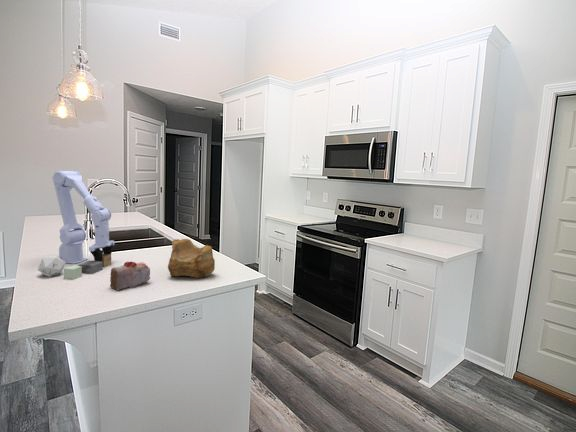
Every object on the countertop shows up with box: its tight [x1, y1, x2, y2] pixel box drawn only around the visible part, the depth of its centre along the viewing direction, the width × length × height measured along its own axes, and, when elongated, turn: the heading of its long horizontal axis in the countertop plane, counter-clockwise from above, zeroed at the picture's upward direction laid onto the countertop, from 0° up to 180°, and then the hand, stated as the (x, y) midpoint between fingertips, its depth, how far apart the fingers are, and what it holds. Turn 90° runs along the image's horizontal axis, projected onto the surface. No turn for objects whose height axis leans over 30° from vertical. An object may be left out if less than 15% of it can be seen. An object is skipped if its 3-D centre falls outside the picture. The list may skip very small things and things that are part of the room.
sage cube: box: [62, 265, 83, 281], centre depth 137 cm, size 4×4×4 cm
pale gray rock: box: [37, 254, 67, 278], centre depth 138 cm, size 8×9×10 cm
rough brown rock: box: [167, 238, 216, 279], centre depth 145 cm, size 23×17×15 cm
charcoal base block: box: [78, 260, 104, 275], centre depth 145 cm, size 6×6×4 cm
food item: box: [109, 261, 151, 291], centre depth 130 cm, size 14×8×10 cm, turn 144°
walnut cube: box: [93, 253, 112, 268], centre depth 154 cm, size 5×5×5 cm
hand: (102, 262), depth 154 cm, fingers closed on walnut cube, 5 cm apart
